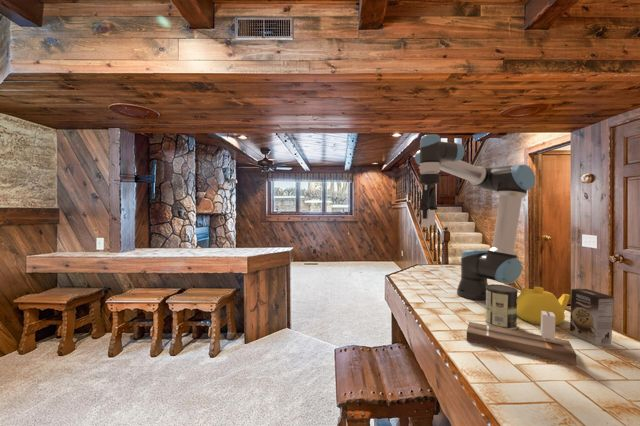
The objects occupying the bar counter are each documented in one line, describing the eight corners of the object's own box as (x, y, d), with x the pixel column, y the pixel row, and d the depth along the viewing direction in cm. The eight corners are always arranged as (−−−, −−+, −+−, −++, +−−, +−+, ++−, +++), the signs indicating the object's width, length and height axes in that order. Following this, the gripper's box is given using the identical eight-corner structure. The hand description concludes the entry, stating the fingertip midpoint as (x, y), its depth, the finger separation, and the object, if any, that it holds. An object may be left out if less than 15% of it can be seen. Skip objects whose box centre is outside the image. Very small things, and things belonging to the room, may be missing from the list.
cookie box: (568, 333, 104) (570, 288, 103) (584, 332, 104) (586, 288, 104) (595, 346, 95) (597, 296, 94) (612, 344, 95) (614, 296, 95)
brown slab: (468, 329, 106) (468, 321, 106) (568, 350, 92) (568, 340, 92) (466, 340, 97) (466, 331, 97) (576, 365, 83) (576, 354, 83)
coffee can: (509, 320, 115) (510, 285, 115) (522, 331, 105) (523, 292, 105) (481, 318, 117) (482, 283, 117) (490, 328, 107) (491, 290, 107)
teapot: (530, 326, 110) (531, 293, 109) (501, 308, 128) (502, 280, 128) (585, 328, 109) (586, 294, 108) (548, 310, 127) (549, 281, 127)
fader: (540, 337, 93) (541, 310, 93) (552, 339, 91) (553, 312, 91) (542, 342, 89) (542, 314, 89) (554, 344, 88) (555, 316, 88)
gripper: (425, 176, 131) (425, 224, 132) (412, 171, 110) (411, 227, 110) (443, 176, 127) (442, 224, 128) (433, 170, 106) (432, 228, 106)
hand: (428, 226), depth 119 cm, fingers open, 13 cm apart
